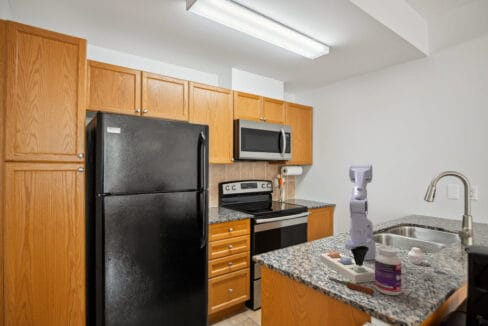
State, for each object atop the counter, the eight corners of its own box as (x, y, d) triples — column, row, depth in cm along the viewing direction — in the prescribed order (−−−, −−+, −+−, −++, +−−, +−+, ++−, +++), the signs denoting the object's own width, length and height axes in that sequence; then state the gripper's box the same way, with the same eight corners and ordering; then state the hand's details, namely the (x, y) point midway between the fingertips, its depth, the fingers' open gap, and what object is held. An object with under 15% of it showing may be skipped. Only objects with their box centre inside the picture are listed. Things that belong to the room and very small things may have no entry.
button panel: (338, 258, 120) (338, 252, 120) (377, 280, 97) (377, 272, 97) (319, 260, 118) (319, 254, 118) (355, 283, 95) (355, 275, 95)
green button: (359, 271, 103) (359, 265, 103) (367, 275, 98) (367, 269, 98) (350, 272, 101) (350, 266, 101) (358, 277, 97) (358, 270, 97)
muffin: (406, 262, 115) (406, 247, 115) (409, 259, 119) (409, 244, 119) (423, 266, 110) (423, 250, 110) (425, 263, 115) (425, 247, 115)
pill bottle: (401, 299, 83) (401, 254, 83) (373, 292, 87) (373, 250, 88) (401, 289, 90) (401, 248, 90) (376, 283, 94) (375, 244, 94)
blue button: (347, 262, 110) (347, 256, 110) (353, 266, 106) (353, 260, 106) (338, 263, 109) (338, 257, 109) (344, 267, 105) (344, 261, 105)
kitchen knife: (374, 294, 86) (374, 288, 86) (373, 296, 85) (373, 290, 85) (329, 281, 97) (329, 275, 97) (327, 282, 96) (327, 276, 96)
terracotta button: (335, 256, 118) (335, 250, 118) (341, 259, 114) (341, 254, 114) (327, 257, 117) (327, 251, 117) (333, 260, 113) (333, 254, 113)
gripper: (360, 225, 107) (360, 258, 107) (338, 230, 99) (338, 265, 99) (376, 229, 102) (376, 263, 101) (354, 234, 94) (355, 272, 93)
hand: (359, 265), depth 100 cm, fingers closed
